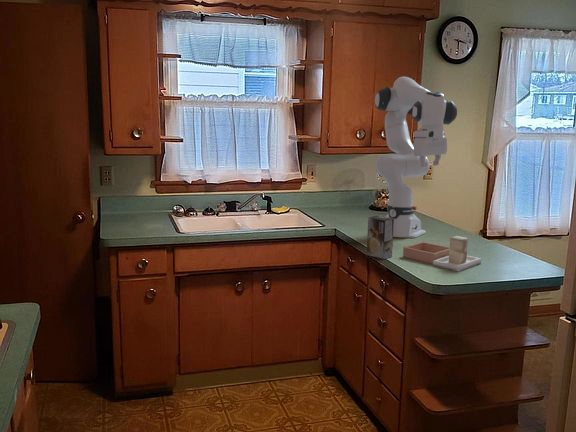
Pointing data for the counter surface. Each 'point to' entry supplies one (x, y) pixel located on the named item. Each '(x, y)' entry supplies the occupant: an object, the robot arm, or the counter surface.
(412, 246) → the terracotta square frame
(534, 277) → the counter surface
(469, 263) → the white tray
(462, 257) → the maple block
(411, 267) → the counter surface
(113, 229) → the counter surface
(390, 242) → the coffee box
